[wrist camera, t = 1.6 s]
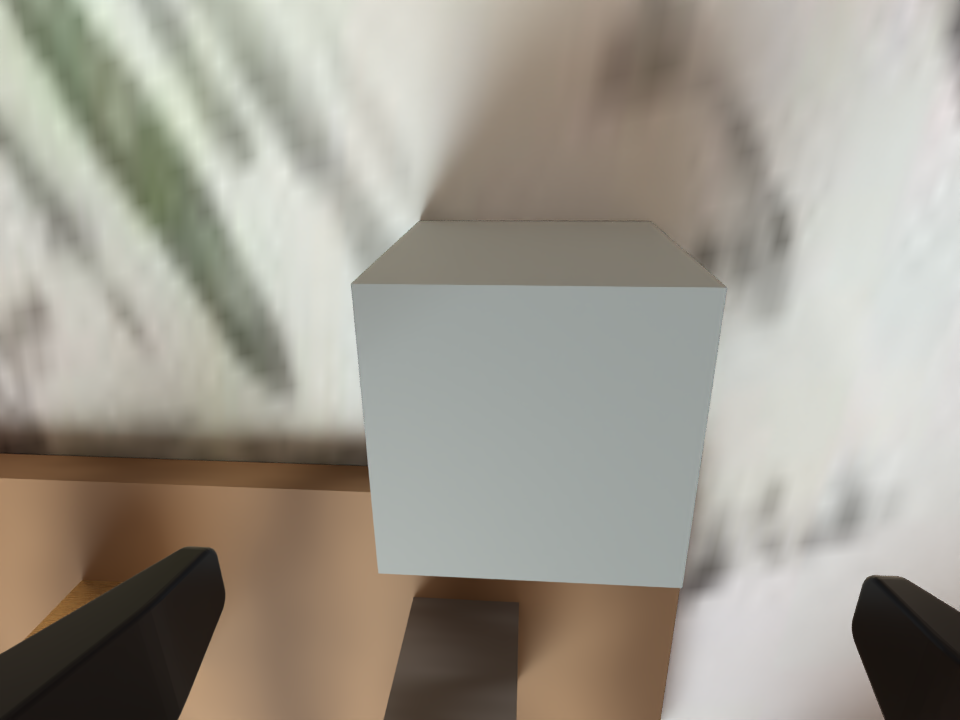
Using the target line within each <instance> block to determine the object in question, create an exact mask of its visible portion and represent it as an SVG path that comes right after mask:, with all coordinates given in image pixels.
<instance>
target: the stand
mask: <svg viewBox="0 0 960 720" xmlns="http://www.w3.org/2000/svg"><path fill="white" fill-rule="evenodd" d="M187 546H197V547H210V548H213V549H214V550H215V552H216V553H217V556H218V560H219V564H220V569H221V573H222V578H223V582H224V587H225V604H224V608H223V611H222V613H221V616H220V618H219V621H218V623H217V626H216V628H215V631H214V633H213V636H212V638H211V641H210V643H209V646H208V648H207V651H206V654H205V656H204V659H203V661H202V664H201V666H200V669H199V671H198V674H197V676H196V679H195V681H194V684H193V686H192V689H191V691H190V694H189V696H188V699H187V701H186V703H185V706H184V708H183V710H182V713H181V715H180V717H179V719H178V720H661V713H662V706H663V699H664V692H665V686H666V679H667V672H668V665H669V658H670V652H671V645H672V638H673V631H674V624H675V618H676V611H677V604H678V597H679V591H680V588H669V587H648V586H628V585H607V584H586V583H566V582H545V581H525V580H504V579H483V578H463V577H442V576H422V575H401V574H380V573H378V565H377V555H376V544H375V533H374V523H373V512H372V502H371V491H370V480H369V470H368V466H348V465H319V464H290V463H261V462H232V461H203V460H174V459H144V458H115V457H86V456H57V455H28V454H0V654H1V653H3V652H5V651H6V650H8V649H10V648H11V647H13V646H15V645H17V644H18V643H20V642H22V641H23V640H24V639H25V638H26V637H27V636H28V635H29V634H30V633H31V632H32V631H33V630H34V629H35V628H36V627H37V626H38V625H39V624H40V623H41V622H42V621H43V620H44V619H45V618H46V617H47V616H48V614H49V613H50V612H51V611H52V610H53V609H54V608H55V607H56V606H57V605H58V604H59V603H60V602H61V601H62V600H63V599H64V598H65V597H66V596H67V595H68V594H69V593H70V592H71V591H72V590H73V589H74V588H75V587H76V586H77V585H78V584H79V583H80V582H81V581H82V580H92V581H112V582H124V581H126V580H128V579H129V578H131V577H133V576H135V575H136V574H138V573H140V572H141V571H143V570H145V569H147V568H148V567H150V566H152V565H153V564H155V563H157V562H159V561H160V560H162V559H164V558H165V557H167V556H169V555H171V554H172V553H174V552H176V551H177V550H179V549H181V548H183V547H187Z"/></svg>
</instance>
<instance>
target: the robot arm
mask: <svg viewBox="0 0 960 720" xmlns="http://www.w3.org/2000/svg"><path fill="white" fill-rule="evenodd" d="M224 604H225V587H224V582H223V578H222V573H221V569H220V564H219V560H218V556H217V553H216V552H215V550H214V549H213V548H210V547H197V546H187V547H183V548H181V549H179V550H177V551H176V552H174V553H172V554H171V555H169V556H167V557H165V558H164V559H162V560H160V561H159V562H157V563H155V564H153V565H152V566H150V567H148V568H147V569H145V570H143V571H141V572H140V573H138V574H136V575H135V576H133V577H131V578H129V579H128V580H126V581H124V582H123V583H121V584H119V585H118V586H116V587H114V588H112V589H111V590H109V591H107V592H106V593H104V594H102V595H100V596H99V597H97V598H95V599H94V600H92V601H90V602H88V603H87V604H85V605H83V606H82V607H80V608H78V609H76V610H75V611H73V612H71V613H70V614H68V615H66V616H64V617H63V618H61V619H59V620H58V621H56V622H54V623H52V624H51V625H49V626H47V627H46V628H44V629H42V630H40V631H39V632H37V633H35V634H34V635H32V636H30V637H29V638H27V639H25V640H23V641H22V642H20V643H18V644H17V645H15V646H13V647H11V648H10V649H8V650H6V651H5V652H3V653H1V654H0V720H178V719H179V717H180V715H181V713H182V710H183V708H184V706H185V703H186V701H187V699H188V696H189V694H190V691H191V689H192V686H193V684H194V681H195V679H196V676H197V674H198V671H199V669H200V666H201V664H202V661H203V659H204V656H205V654H206V651H207V648H208V646H209V643H210V641H211V638H212V636H213V633H214V631H215V628H216V626H217V623H218V621H219V618H220V616H221V613H222V611H223V608H224ZM852 634H853V639H854V642H855V645H856V647H857V650H858V652H859V655H860V657H861V660H862V663H863V665H864V668H865V670H866V673H867V676H868V678H869V681H870V683H871V686H872V688H873V691H874V694H875V696H876V699H877V701H878V704H879V706H880V709H881V712H882V714H883V717H884V719H885V720H960V612H959V611H957V610H956V609H954V608H952V607H951V606H949V605H948V604H946V603H944V602H943V601H941V600H940V599H938V598H936V597H935V596H933V595H931V594H930V593H928V592H927V591H925V590H923V589H922V588H920V587H919V586H917V585H915V584H914V583H912V582H910V581H909V580H907V579H905V578H903V577H899V576H880V575H872V576H869V577H867V578H866V579H865V581H864V583H863V585H862V589H861V592H860V595H859V599H858V602H857V606H856V609H855V613H854V616H853V620H852Z"/></svg>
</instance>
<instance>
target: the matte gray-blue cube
mask: <svg viewBox="0 0 960 720" xmlns="http://www.w3.org/2000/svg"><path fill="white" fill-rule="evenodd" d="M351 290H352V300H353V311H354V322H355V332H356V343H357V353H358V364H359V375H360V385H361V396H362V406H363V417H364V427H365V438H366V449H367V459H368V470H369V480H370V491H371V502H372V512H373V523H374V533H375V544H376V555H377V565H378V573H380V574H401V575H422V576H442V577H463V578H483V579H504V580H525V581H545V582H566V583H586V584H607V585H628V586H648V587H669V588H682V587H683V580H684V573H685V566H686V560H687V553H688V546H689V540H690V533H691V526H692V520H693V513H694V506H695V499H696V493H697V486H698V479H699V473H700V466H701V459H702V453H703V446H704V439H705V432H706V426H707V419H708V412H709V406H710V399H711V392H712V385H713V379H714V372H715V365H716V359H717V352H718V345H719V339H720V332H721V325H722V318H723V312H724V305H725V298H726V292H727V287H726V286H725V285H723V284H722V283H721V282H720V281H719V280H718V279H717V278H715V277H714V276H713V275H712V274H711V273H710V272H708V271H707V270H706V269H705V268H704V267H703V266H702V265H700V264H699V263H698V262H697V261H696V260H695V259H694V258H692V257H691V256H690V255H689V254H688V253H687V252H685V251H684V250H683V249H682V248H681V247H680V246H679V245H677V244H676V243H675V242H674V241H673V240H672V239H671V238H669V237H668V236H667V235H666V234H665V233H664V232H662V231H661V230H660V229H659V228H658V227H657V226H656V225H654V224H653V223H652V222H651V221H419V222H417V223H416V224H415V225H414V226H413V227H412V228H411V229H410V230H409V231H408V232H407V233H405V234H404V235H403V236H402V237H401V238H400V239H399V240H398V241H397V242H396V243H395V244H394V245H392V246H391V247H390V248H389V249H388V250H387V251H386V252H385V253H384V254H383V255H382V256H381V257H379V258H378V259H377V260H376V261H375V262H374V263H373V264H372V265H371V266H370V267H369V268H368V269H366V270H365V271H364V272H363V273H362V274H361V275H360V276H359V277H358V278H357V279H356V280H355V281H353V282H352V283H351Z"/></svg>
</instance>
